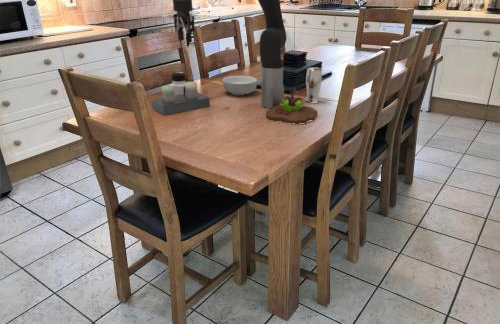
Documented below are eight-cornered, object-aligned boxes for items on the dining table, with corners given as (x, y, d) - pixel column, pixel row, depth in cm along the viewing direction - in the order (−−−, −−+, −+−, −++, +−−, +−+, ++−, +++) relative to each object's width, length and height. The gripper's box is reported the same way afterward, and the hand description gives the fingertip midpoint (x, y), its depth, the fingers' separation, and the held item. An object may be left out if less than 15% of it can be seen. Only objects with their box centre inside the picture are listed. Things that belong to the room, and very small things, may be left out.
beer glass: (302, 102, 184) (304, 69, 178) (307, 98, 190) (309, 66, 184) (317, 104, 182) (319, 71, 175) (322, 100, 187) (324, 68, 181)
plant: (323, 114, 170) (325, 88, 166) (304, 128, 155) (306, 99, 150) (281, 107, 180) (282, 82, 175) (259, 119, 164) (259, 92, 160)
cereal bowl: (242, 100, 188) (242, 85, 185) (215, 94, 197) (215, 80, 194) (263, 92, 200) (264, 78, 197) (237, 87, 209) (237, 73, 206)
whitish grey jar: (199, 98, 179) (199, 83, 176) (189, 100, 176) (188, 85, 173) (194, 95, 183) (193, 81, 180) (183, 97, 180) (182, 82, 177)
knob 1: (177, 102, 173) (175, 87, 170) (165, 104, 170) (164, 88, 168) (171, 99, 177) (170, 84, 174) (160, 101, 174) (159, 86, 171)
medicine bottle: (184, 101, 187) (182, 75, 182) (170, 100, 188) (167, 74, 183) (189, 96, 193) (188, 71, 188) (175, 96, 195) (173, 71, 189)
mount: (209, 106, 179) (209, 97, 178) (163, 115, 168) (162, 106, 166) (196, 100, 188) (196, 91, 186) (152, 108, 177) (151, 99, 175)
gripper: (199, -2, 158) (201, 42, 165) (182, -3, 169) (185, 38, 176) (181, -1, 154) (184, 44, 161) (165, -3, 165) (169, 40, 172)
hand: (185, 41), depth 168 cm, fingers open, 6 cm apart
